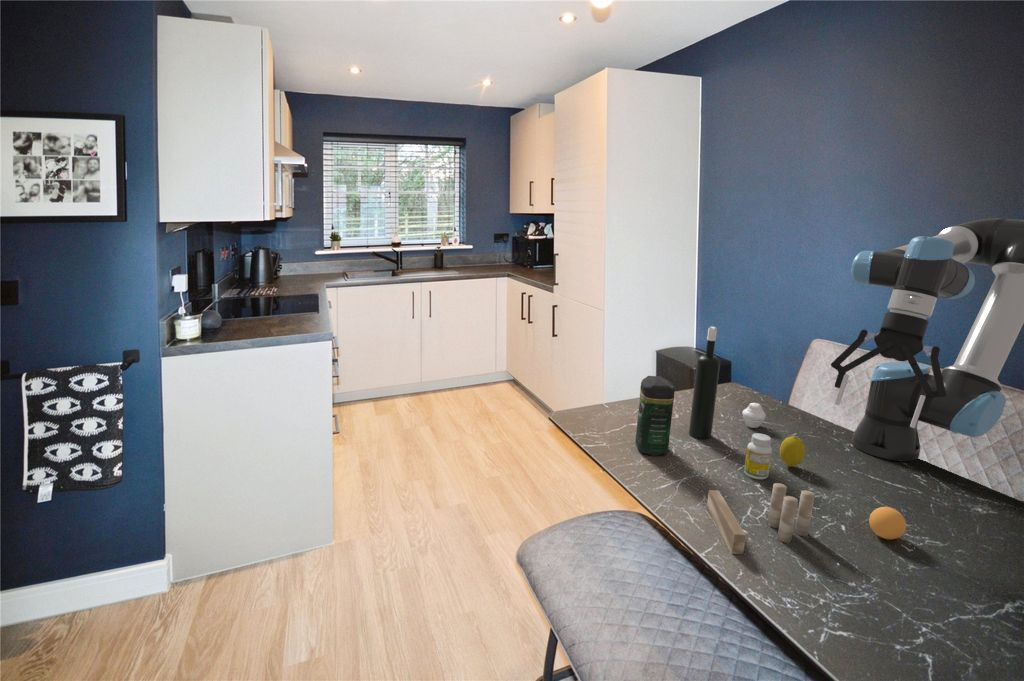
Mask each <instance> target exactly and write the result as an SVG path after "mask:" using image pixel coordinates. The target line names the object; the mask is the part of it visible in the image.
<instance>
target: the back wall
mask: <svg viewBox="0 0 1024 681" xmlns="http://www.w3.org/2000/svg"><path fill="white" fill-rule="evenodd" d="M706 509H707V511H708V513H709V514H710V516H711V518H712V520H713V521H714V524H715V525H716V527H717V529H718V531H719V533H720V534H721V537H722V538H723V540H724V542H725V544H726V545H727V547H728V550H729V551H730V553H731V554H733V555H744V551H745V550H744V549H745V543H746V537H747V535H746V533H745V532H744V529H743V527H741V524H740V523H739V522H738V520H737V518H736V517H735V514H734V513H733V512H732V510H731V508H730V507H729V505H728V504H727V501H726V500H725V498H724V497H723V495H722V494H721V491H720V490H719V489H717V490H713V489H709V490H708V494H707V502H706Z"/></svg>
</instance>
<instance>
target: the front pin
mask: <svg viewBox="0 0 1024 681" xmlns="http://www.w3.org/2000/svg"><path fill="white" fill-rule="evenodd" d="M815 498H816V494H815V493H814V492H812V491H810V490H804V489H803V490H801V492H800V497H799V501H798V502H799V503H798V507H797V512H796V518H795V520H796V521H795V524H794V525H795V526H794V530H793V533H794V534H796V535H797V536H801V537H808V536H809V530H810V525H811V520H812V514H813V509H814V505H815V504H814V503H815Z"/></svg>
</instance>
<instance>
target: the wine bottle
mask: <svg viewBox="0 0 1024 681" xmlns="http://www.w3.org/2000/svg"><path fill="white" fill-rule="evenodd" d="M717 333H718V327H716V326H712V325H711V326H709V327H708V329H707V336H706V348H705V349H706V350H705V354H703V355H700V356H699V357H698V358H697V361H696V368H695V377H694V385H693V393H692V395H693V396H692V403H691V409H690V410H691V412H690V419H689V427H688V434H689V436H690V437H693V438H695V439H699V440H708V439H710V438H712V433H713V424H714V418H715V417H714V414H715V408H716V407H715V406H716V399H717V391H718V385H719V384H718V383H719V375H720V370H721V361H720V359H719V358H718V357H717V356H715V355H714V354H715V345H716V340H717V335H718V334H717Z"/></svg>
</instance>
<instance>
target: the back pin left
mask: <svg viewBox="0 0 1024 681" xmlns="http://www.w3.org/2000/svg"><path fill="white" fill-rule="evenodd" d="M798 502H799V500H798V498H796V497H794V496H792V495H791V496H790V495H785V497H784V501H783V507H782V513H781V519H780V525H779V528H778V533H777V536H776V537H777V540H778V541H779V542H782V543H785V544H790V543H791V542H792V538H793V533H794V528H795V526H794V525H795V522H796V521H795V520H796V517H797V511H798V505H799V503H798Z"/></svg>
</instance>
